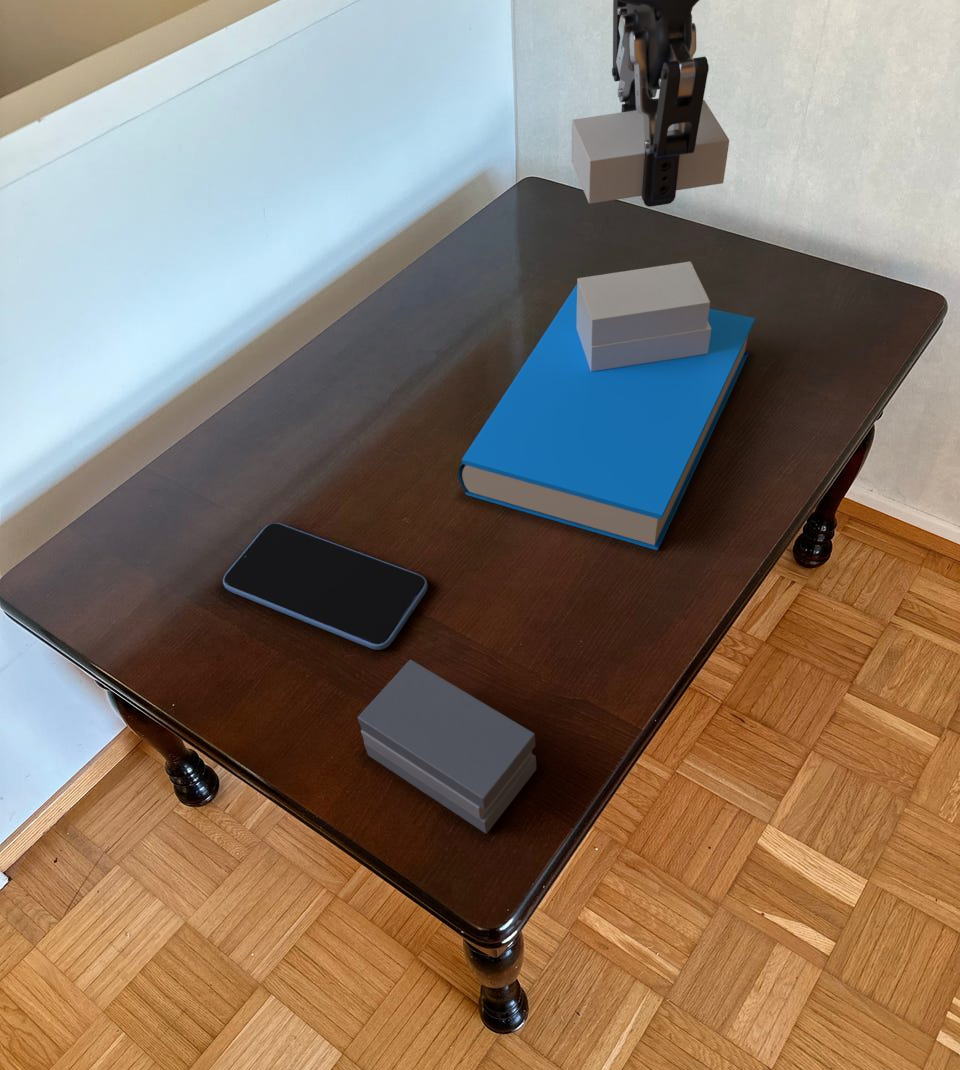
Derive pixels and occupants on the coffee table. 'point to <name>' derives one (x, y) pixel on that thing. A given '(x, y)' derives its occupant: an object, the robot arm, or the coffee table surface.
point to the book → (604, 432)
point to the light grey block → (640, 155)
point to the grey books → (448, 744)
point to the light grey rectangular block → (642, 316)
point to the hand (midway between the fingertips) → (646, 178)
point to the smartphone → (326, 585)
